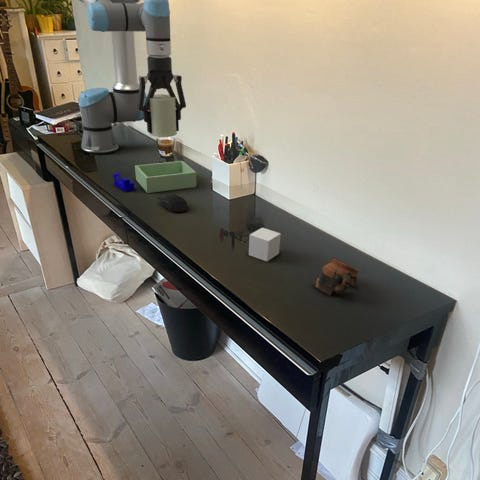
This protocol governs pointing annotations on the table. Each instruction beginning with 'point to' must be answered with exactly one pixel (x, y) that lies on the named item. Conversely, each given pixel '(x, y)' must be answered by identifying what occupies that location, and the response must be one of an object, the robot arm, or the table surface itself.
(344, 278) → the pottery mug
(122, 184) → the cable holder
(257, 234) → the white cube
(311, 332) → the table surface
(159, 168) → the bin
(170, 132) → the can
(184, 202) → the gaming mouse
